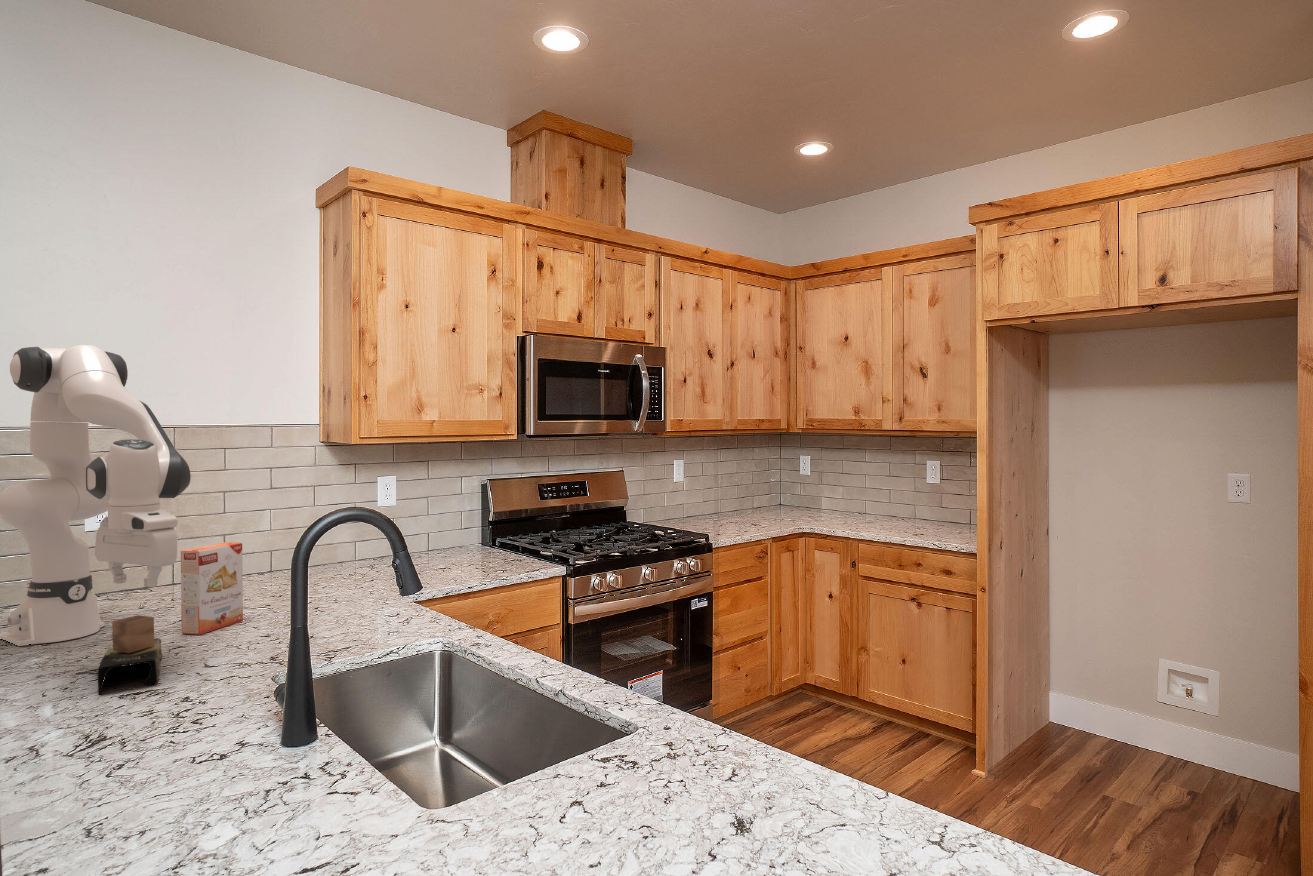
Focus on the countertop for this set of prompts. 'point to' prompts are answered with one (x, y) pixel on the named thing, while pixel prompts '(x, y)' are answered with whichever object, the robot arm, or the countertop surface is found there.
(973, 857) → the countertop surface
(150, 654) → the black open-ended box
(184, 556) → the cracker box
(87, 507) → the robot arm
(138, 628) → the walnut block
